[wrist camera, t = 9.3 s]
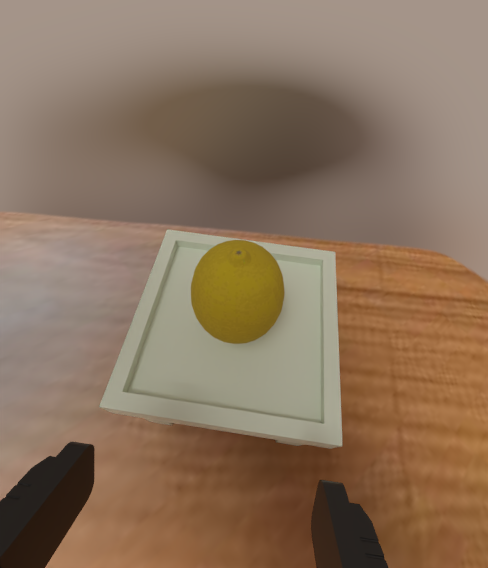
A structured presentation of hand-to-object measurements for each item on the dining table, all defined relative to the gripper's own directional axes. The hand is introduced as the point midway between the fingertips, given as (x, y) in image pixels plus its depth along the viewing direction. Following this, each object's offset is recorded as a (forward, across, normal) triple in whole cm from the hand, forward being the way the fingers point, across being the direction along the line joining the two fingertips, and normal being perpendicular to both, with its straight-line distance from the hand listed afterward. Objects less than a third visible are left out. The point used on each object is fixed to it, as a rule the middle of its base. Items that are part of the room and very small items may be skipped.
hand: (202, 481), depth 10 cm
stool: (+18, 0, +4) cm, 18 cm away
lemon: (+11, 0, -2) cm, 12 cm away
